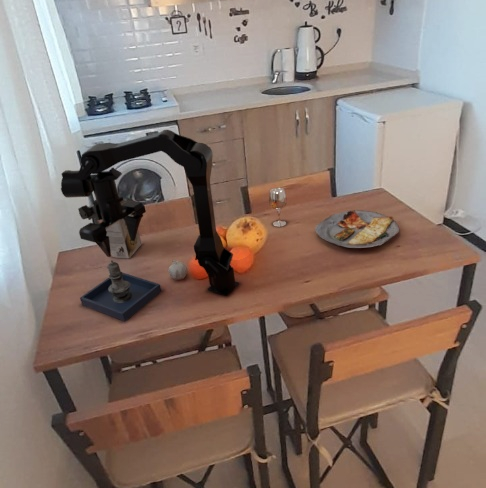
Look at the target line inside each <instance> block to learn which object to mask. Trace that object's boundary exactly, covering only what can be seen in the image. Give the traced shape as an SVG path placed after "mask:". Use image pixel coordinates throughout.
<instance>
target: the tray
mask: <svg viewBox="0 0 486 488" xmlns="http://www.w3.org/2000/svg"><path fill="white" fill-rule="evenodd" d="M122 273H123V275H122V277H123V280H124V281H128V282H129V283H130V289H129V292H130V293H131V294H132V297H131V298H130V299H129V300H128V301H126V302H123V303H115V302H114V301H113V297H114V296H113V295H112V294H111V292H109V290H108V288H109V286H110V285H111V284H112V281H111V278H109V277H108V278H106V279H105V280H103V281H102V282H100V283H99V284H98V285H96V286H94V287H92V289H90V290H89V291H87V292H86V293H84V294H83V295H82V296H80V297H79V300H80V303H81V305H82V306H83V307H87V308H88V309H91V310H93V311H95V312H99V313H101V314H104V315H106V316H109V317H112V318H115V319H117V320H119V321H121V322H126V321H127V320H129V319H130V318H131V317H132V316H133V315H135V314H136V313H137V312H139V311H140V310H141V309H142V308H143V307H145V306H146V305H147V304H148V303H150V302H151V301H152V300H153V299H155V298H156V297H157V296H159V294H161V293H162V292H163V290H162V286H161V284H160V283H158V282H154V281H151V280H148V279H144V278H142V277H138V276H135V275H133V274H129V273H125V272H122Z"/></svg>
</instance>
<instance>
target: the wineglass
mask: <svg viewBox="0 0 486 488" xmlns="http://www.w3.org/2000/svg"><path fill="white" fill-rule="evenodd" d="M287 198H288V197H287V194H286V191H285V189H284V188H282V187H274V188H272V189H270V190H269V195H268V203H269V206H270V207H271V208H272V209H274V210H276V212H277V217H278V219H277V220H275V221H274V222H273V223H272V225H273V226H274V227H276V228H277V227H278V228H281V227H284V226H286V225H287V222H286V221H285V220H281V216H280V215H281V209H284V208H285V207H286V206H287V202H288V201H287Z"/></svg>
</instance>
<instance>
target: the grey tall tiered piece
mask: <svg viewBox="0 0 486 488" xmlns="http://www.w3.org/2000/svg"><path fill="white" fill-rule="evenodd" d="M107 270H108V273H109V275H108V278H111V281H112V284H111V285H110V286H109V288H108V290H109V292H111V294H112V295H113V296H114V297H113V301H114V302H115V303H123V302H126V301H128V300H129V299H130V298H131V297H132V294H131V293H130V292H129V289H130V283H129V282H128V281H124V280H123V277H122V275H123V273H124V272H122V271H121V268H120V264H119V263H118V262H117V261H114V260H112V259H110V263H109V264H108V265H107Z"/></svg>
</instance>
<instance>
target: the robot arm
mask: <svg viewBox="0 0 486 488" xmlns="http://www.w3.org/2000/svg"><path fill="white" fill-rule="evenodd" d="M159 152H162V153H164V154H166V155H167V156H168V157H169V158H170V159H171V160H172V161H173V162H174V163H176V165H177V164H178V165H179V166H180V167H183V169H184V173H185V175H186V178H187V180H188V181H189V183H190V185H191V186H192V192H193V198H194V205H195V213H196V219H197V225H198V232H199V235H198V236H197V238H196V240H195V242H194V245H193V250H194V253H195V258H194V260H195V261H197V263H198V265H199V267H201V268H203V269H204V271H205V272H206V274H207V277H208V282H209V286H208V287H207V291H208V292H211V293H214V294H217V295H221V296H224V297H227V296H229V294H231V292H233V291H234V290H235V289H236V288H237V287H238V286H239V285H240V283H239V282H240V281H236V278H235V271H234V269H235V268H234V267H232V265H231V263H232V259H233V256H234V254H233V253H232V252H231V251H230V250H229V249H228V248H226V247H224V244H223V241H222V238H221V236H220V234H219V232H217V226H216V218H215V209H214V203H213V202H214V201H213V195H212V188H211V187H212V186H211V177H212V176H211V175H212V169H213V156H214V155H213V150H212V148H211V146H209V145H208V144H206V143H204V142H198V141H197V140H195V139H192V138H190V137H187V136H184V135H181V134H179V133H176V132H174V131H172V130H170V129H164V130H163V129H162V131H159V132H155V133H151V134H149V135H145V136H140V137H137V138H134V139H130V140H127V141H123V142H117V143H116V142H115V143H114V142H99V143H95V144H93V145H92V146H91V147H89V148H88V149H86V151H84V152H83V153H82V154H81V157H80V163H81V165H80V168H79V169H78V170H69V169H68V170H63V172H62V173H61V177H62V178H61V181H60V191H61V194H62V195H63V196H64V197H65V198H67V199H68V198H70V199H71V198H88V197H90V196H91V195H92V193H93V194H94V197H95V199H94V200H92V204H90V205H89V206H88V205H87V204H85V205H82V206H81V207H78V214H79V216H80V218H81V219H82V220H87V219H88V220H89V221H91V220H92V219H94V218H95V220H96V221H103V222H100V223H94V222H89V223H88V224H86V225H84V226H83V227H81V228H80V229H79V230H78V235H79V237H80V239H81V240H84V241H88V242H92V243H94V244H96V245H97V246H98V248H100V249H101V251H102V252H103V254H104V255H105V256H106V257H108V258H111V256H112V253H111V249H110V241H109V236H106V235H107V231H106V229H107V228H108V227H110V226H112V225H113V224H115V223H117V222H118V221H120V220H121V219H124V221H125V222H126V225H127V229H128V232H129V236H130V238H131V240H132V241H135V238H136V234H137V230H138V231H139V226H140V223H141V221H142V218H143V217H144V214H145V213H146V212H147V210H146V206H145V204H144V203H143V202H141V201H136V200H131V199H129V200H126V201H127V202H126V203H124V204H122V205H121V201H123V200H124V197H123V196H122V195H120V194H119V192H118V187H117V183H116V181H117V180H118V179H119V178H120V177H121V176H122V175H123V173H122V172H121V171H120V170H117V169H116V168H115V167H113V166H115V165H117V164H119V163H121V162H125V161H128V160H133V159H136V158H140V157H144V156H147V155H152V154H155V153H159ZM108 169H109V170H108Z"/></svg>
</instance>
